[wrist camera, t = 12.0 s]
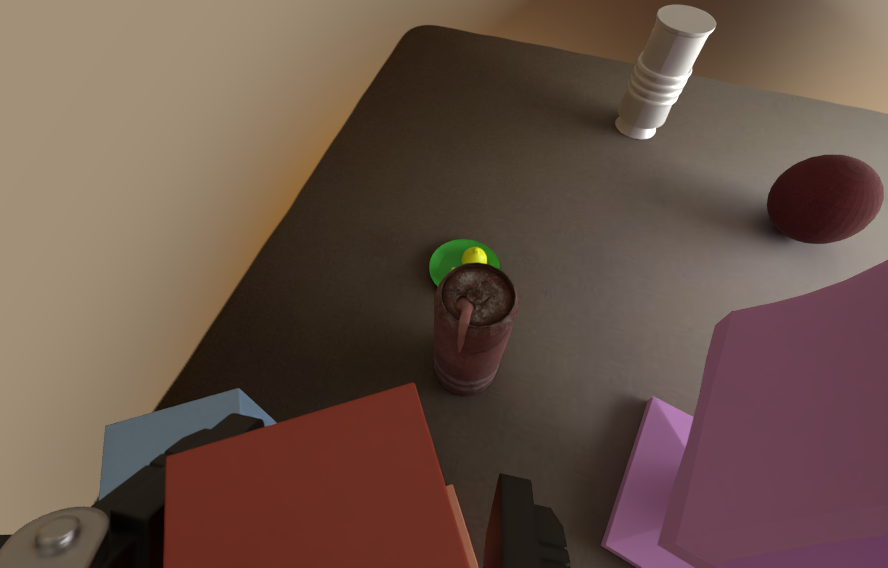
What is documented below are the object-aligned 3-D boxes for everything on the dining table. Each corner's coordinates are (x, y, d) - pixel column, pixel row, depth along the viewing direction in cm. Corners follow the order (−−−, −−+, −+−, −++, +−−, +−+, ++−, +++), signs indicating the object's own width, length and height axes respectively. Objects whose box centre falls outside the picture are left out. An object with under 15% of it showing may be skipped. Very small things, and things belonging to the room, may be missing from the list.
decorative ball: (745, 243, 52) (807, 181, 44) (750, 189, 57) (806, 125, 49) (836, 272, 50) (919, 214, 41) (832, 214, 55) (905, 152, 47)
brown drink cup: (426, 392, 41) (425, 323, 29) (441, 333, 44) (445, 250, 32) (489, 406, 40) (514, 343, 28) (499, 346, 44) (525, 266, 32)
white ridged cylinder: (627, 105, 66) (674, -2, 54) (668, 127, 64) (727, 20, 51) (602, 124, 63) (645, 16, 51) (643, 148, 61) (699, 40, 48)
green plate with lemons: (499, 304, 46) (503, 290, 44) (425, 297, 46) (425, 283, 44) (500, 245, 51) (503, 230, 48) (432, 239, 51) (432, 224, 48)
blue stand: (195, 569, 33) (91, 572, 23) (193, 462, 37) (104, 425, 27) (302, 531, 34) (249, 518, 24) (288, 433, 38) (238, 387, 28)
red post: (327, 666, 13) (155, 834, 5) (306, 514, 16) (163, 455, 7) (460, 610, 14) (502, 675, 6) (422, 474, 16) (413, 380, 8)
